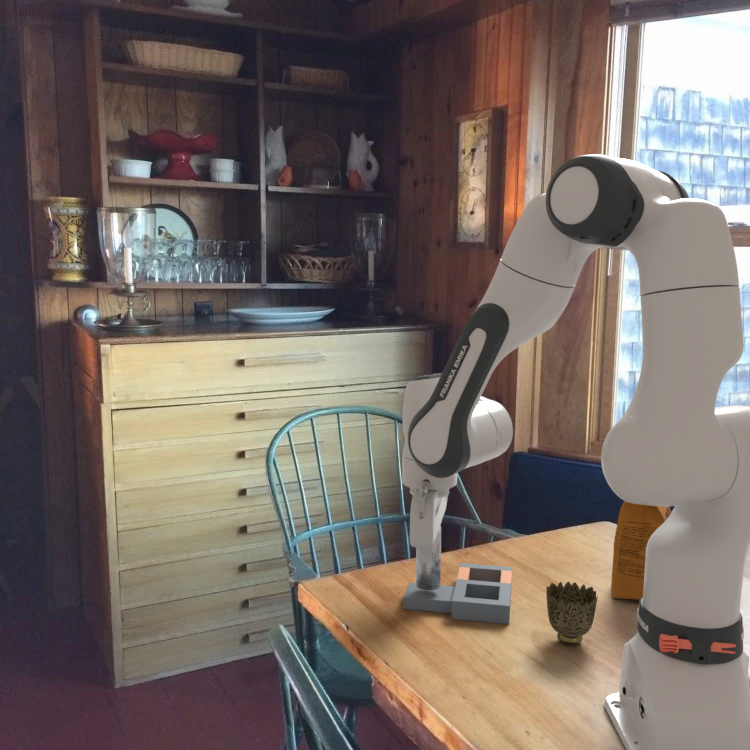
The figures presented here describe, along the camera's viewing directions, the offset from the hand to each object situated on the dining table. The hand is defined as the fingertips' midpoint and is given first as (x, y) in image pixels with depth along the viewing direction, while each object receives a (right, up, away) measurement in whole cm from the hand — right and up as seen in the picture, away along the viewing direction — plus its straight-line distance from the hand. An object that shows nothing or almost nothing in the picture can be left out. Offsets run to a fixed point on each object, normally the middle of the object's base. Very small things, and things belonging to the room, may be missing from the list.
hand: (428, 555), depth 130 cm
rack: (+5, -8, +4) cm, 10 cm away
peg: (0, -5, +1) cm, 5 cm away
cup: (+20, -11, -11) cm, 25 cm away
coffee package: (+37, -8, +7) cm, 38 cm away
